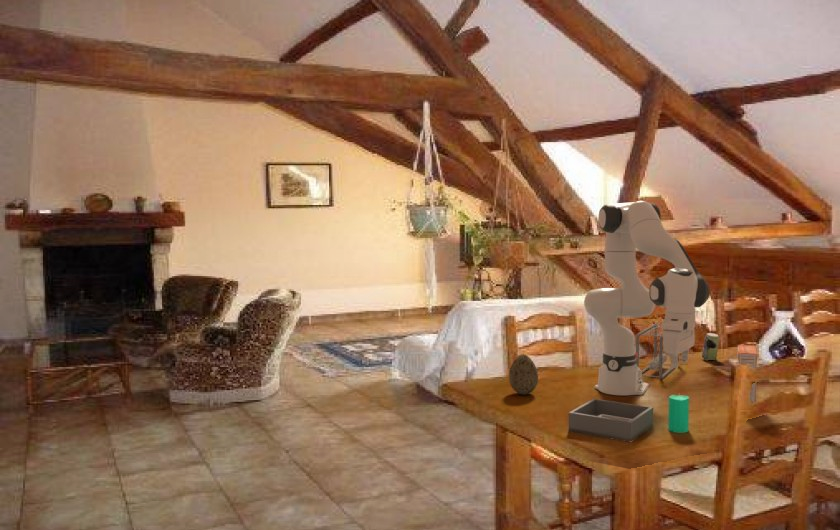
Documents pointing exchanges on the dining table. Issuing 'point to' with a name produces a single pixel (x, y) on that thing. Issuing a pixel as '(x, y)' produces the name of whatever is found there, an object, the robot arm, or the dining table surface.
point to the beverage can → (710, 346)
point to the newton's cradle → (657, 359)
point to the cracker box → (749, 357)
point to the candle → (678, 413)
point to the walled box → (611, 419)
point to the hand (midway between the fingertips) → (679, 365)
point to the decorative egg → (523, 375)
